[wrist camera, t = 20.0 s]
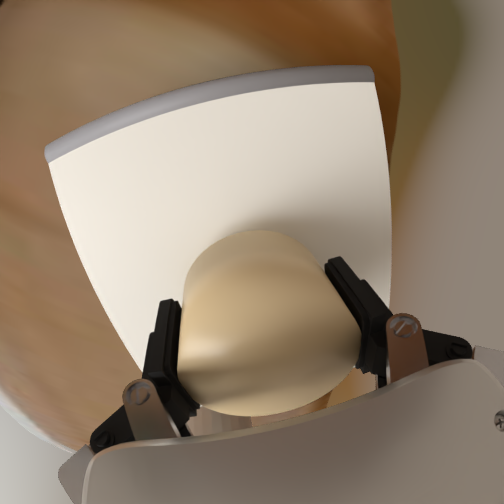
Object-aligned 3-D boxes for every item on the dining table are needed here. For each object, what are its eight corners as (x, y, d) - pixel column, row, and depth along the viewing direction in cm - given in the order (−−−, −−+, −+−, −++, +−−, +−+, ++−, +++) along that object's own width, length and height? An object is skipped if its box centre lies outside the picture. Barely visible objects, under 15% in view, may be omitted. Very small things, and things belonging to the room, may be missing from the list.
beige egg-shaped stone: (323, 324, 14) (354, 389, 10) (208, 353, 14) (212, 426, 10) (314, 214, 11) (368, 272, 7) (162, 252, 11) (142, 329, 7)
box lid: (376, 347, 18) (383, 357, 17) (171, 399, 18) (169, 411, 17) (359, 68, 11) (371, 63, 10) (54, 143, 10) (42, 144, 9)
